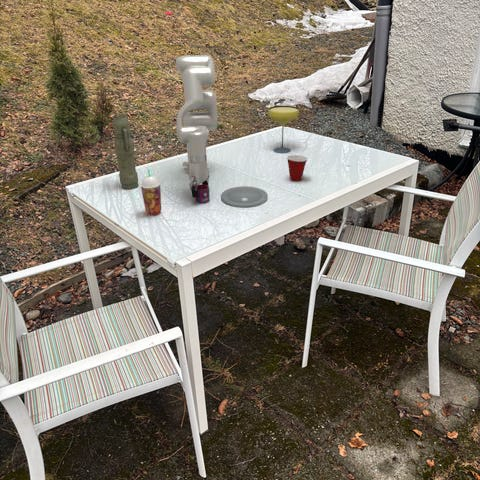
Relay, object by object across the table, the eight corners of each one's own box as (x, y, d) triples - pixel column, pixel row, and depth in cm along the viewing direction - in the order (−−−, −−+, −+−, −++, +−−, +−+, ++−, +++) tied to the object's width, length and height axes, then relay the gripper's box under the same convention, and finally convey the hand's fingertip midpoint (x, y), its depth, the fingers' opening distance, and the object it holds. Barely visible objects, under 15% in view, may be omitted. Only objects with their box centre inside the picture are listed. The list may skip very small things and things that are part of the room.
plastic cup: (310, 178, 228) (312, 156, 222) (298, 184, 221) (299, 162, 215) (294, 173, 234) (295, 152, 228) (281, 179, 227) (282, 157, 221)
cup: (199, 204, 201) (198, 191, 198) (189, 197, 209) (188, 184, 205) (212, 201, 205) (211, 187, 201) (201, 194, 212) (201, 181, 209)
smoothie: (145, 209, 198) (139, 167, 188) (163, 208, 198) (159, 166, 189) (143, 217, 191) (137, 174, 181) (162, 216, 191) (157, 173, 181)
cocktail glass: (265, 146, 276) (266, 106, 264) (293, 145, 278) (295, 105, 265) (270, 155, 260) (271, 113, 248) (299, 154, 262) (302, 112, 250)
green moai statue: (132, 180, 228) (123, 112, 211) (143, 187, 220) (134, 117, 203) (116, 184, 224) (105, 115, 206) (126, 191, 215) (116, 120, 198)
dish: (212, 202, 203) (212, 200, 203) (233, 185, 221) (233, 183, 220) (256, 210, 195) (256, 208, 194) (274, 192, 212) (274, 190, 212)
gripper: (200, 151, 205) (202, 186, 213) (180, 163, 191) (183, 199, 199) (214, 153, 202) (216, 188, 210) (195, 165, 188) (198, 201, 197)
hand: (200, 193), depth 205 cm, fingers open, 9 cm apart
